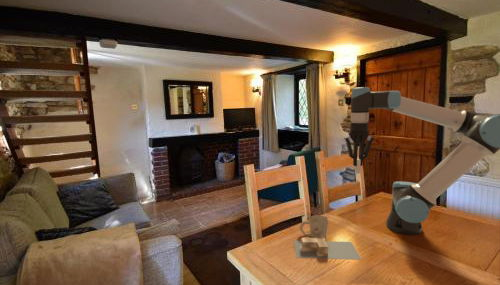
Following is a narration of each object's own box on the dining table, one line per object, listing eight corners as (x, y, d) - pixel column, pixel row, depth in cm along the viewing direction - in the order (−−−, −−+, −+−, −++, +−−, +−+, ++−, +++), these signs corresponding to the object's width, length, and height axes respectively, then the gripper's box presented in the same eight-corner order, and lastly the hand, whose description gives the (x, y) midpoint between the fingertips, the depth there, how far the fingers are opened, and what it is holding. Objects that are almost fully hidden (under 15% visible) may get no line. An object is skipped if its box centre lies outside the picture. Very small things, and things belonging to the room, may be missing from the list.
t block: (322, 243, 112) (323, 234, 111) (328, 256, 102) (328, 247, 101) (300, 242, 112) (300, 234, 112) (303, 255, 102) (303, 246, 102)
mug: (328, 245, 112) (329, 224, 111) (299, 243, 115) (299, 221, 113) (326, 236, 120) (327, 215, 119) (299, 233, 123) (299, 214, 121)
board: (351, 245, 112) (351, 241, 112) (361, 263, 99) (361, 259, 99) (293, 243, 114) (293, 240, 114) (296, 261, 101) (296, 257, 101)
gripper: (370, 121, 120) (368, 170, 123) (342, 121, 121) (340, 170, 124) (377, 122, 112) (375, 174, 116) (347, 122, 113) (345, 174, 117)
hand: (357, 172), depth 120 cm, fingers closed
